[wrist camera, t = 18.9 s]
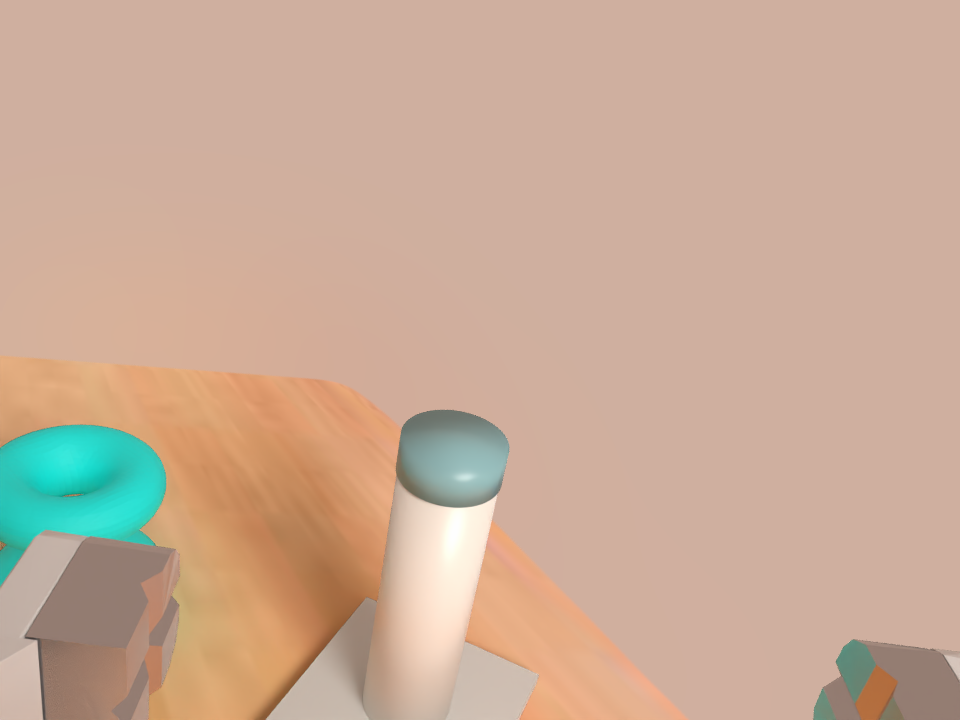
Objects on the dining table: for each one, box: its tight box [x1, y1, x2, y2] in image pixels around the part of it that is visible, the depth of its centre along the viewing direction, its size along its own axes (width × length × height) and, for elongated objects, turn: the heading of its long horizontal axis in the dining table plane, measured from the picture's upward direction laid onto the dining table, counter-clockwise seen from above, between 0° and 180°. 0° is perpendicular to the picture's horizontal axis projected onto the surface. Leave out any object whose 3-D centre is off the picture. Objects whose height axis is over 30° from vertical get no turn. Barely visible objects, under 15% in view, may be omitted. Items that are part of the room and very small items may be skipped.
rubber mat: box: [266, 597, 539, 720], centre depth 51 cm, size 12×12×1 cm
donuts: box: [0, 425, 166, 586], centre depth 52 cm, size 10×10×10 cm
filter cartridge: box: [363, 410, 509, 720], centre depth 47 cm, size 5×5×18 cm
